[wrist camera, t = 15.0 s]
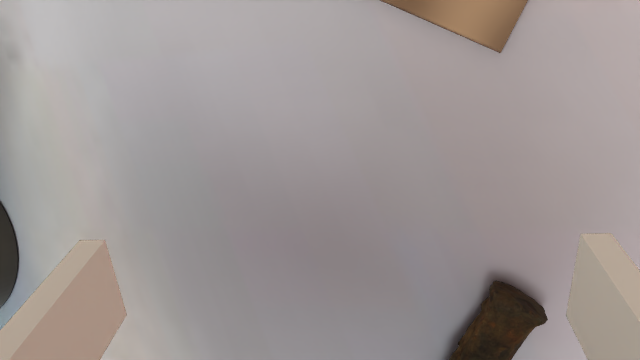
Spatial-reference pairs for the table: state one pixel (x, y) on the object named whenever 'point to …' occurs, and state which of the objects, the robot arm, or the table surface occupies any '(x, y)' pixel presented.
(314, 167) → the table surface
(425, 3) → the mounting board
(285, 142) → the table surface
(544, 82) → the table surface
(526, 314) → the hand tool
